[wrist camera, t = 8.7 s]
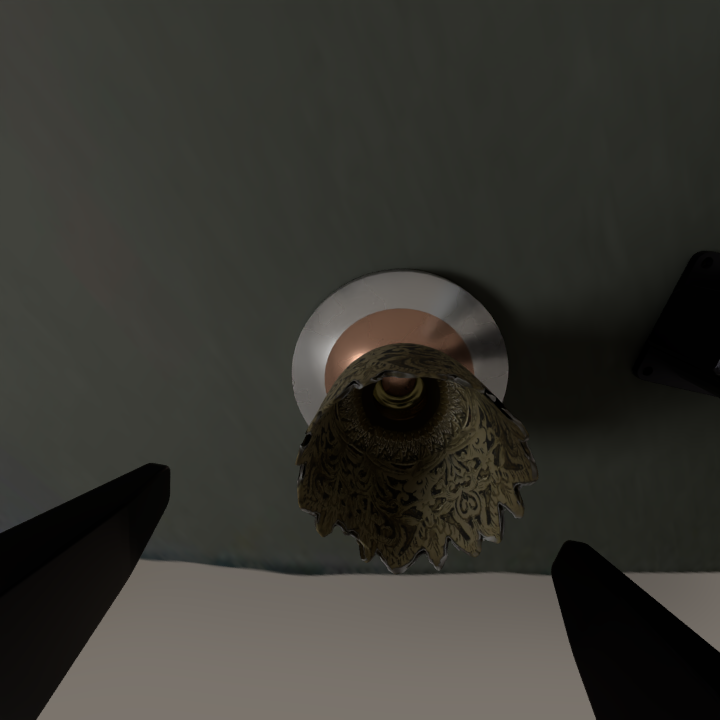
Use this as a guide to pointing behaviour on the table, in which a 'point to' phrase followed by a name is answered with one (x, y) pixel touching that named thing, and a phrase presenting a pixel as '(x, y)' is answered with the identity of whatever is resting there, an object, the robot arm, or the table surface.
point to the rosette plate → (395, 332)
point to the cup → (413, 459)
